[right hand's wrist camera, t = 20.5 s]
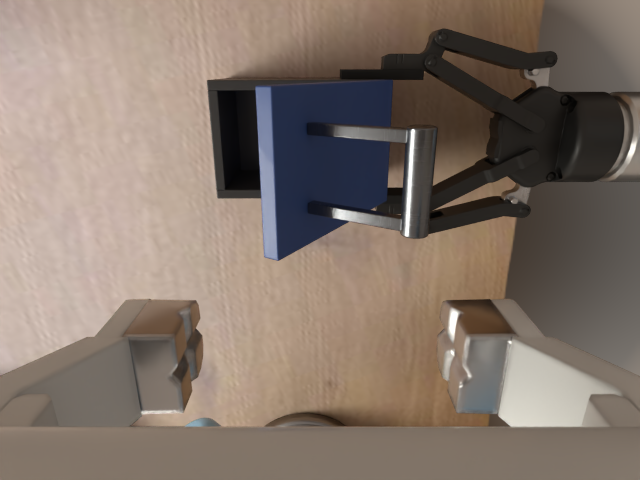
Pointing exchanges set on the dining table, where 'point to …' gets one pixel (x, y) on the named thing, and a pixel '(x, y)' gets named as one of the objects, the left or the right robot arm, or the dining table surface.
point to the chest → (241, 132)
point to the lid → (336, 162)
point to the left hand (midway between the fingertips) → (339, 137)
